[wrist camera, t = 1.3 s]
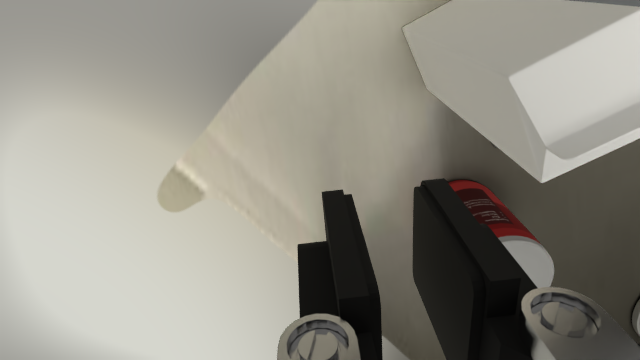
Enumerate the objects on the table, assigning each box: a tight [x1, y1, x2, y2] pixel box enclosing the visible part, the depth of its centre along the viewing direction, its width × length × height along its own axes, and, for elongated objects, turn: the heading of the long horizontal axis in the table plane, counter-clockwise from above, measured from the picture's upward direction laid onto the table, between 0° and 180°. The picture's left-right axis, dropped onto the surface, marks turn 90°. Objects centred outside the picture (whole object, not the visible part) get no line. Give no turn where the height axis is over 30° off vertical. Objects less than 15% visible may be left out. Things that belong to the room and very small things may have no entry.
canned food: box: [449, 180, 554, 288], centre depth 38 cm, size 8×8×11 cm
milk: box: [402, 0, 640, 183], centre depth 26 cm, size 6×6×22 cm
